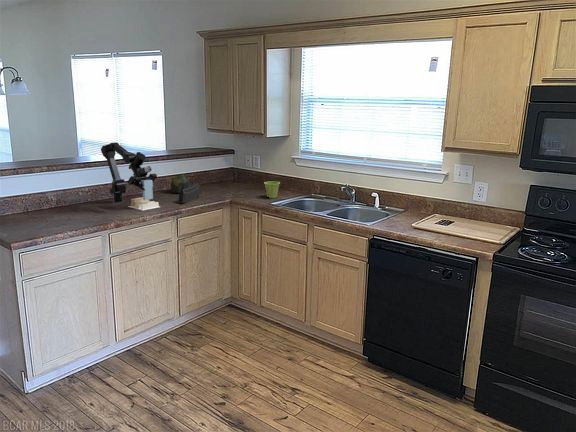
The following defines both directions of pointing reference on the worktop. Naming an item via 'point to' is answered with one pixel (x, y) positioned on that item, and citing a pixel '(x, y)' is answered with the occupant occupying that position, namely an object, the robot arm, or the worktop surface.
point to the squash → (179, 183)
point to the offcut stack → (138, 201)
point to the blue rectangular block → (147, 189)
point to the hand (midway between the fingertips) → (148, 189)
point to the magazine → (189, 193)
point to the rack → (146, 205)
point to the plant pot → (272, 189)
